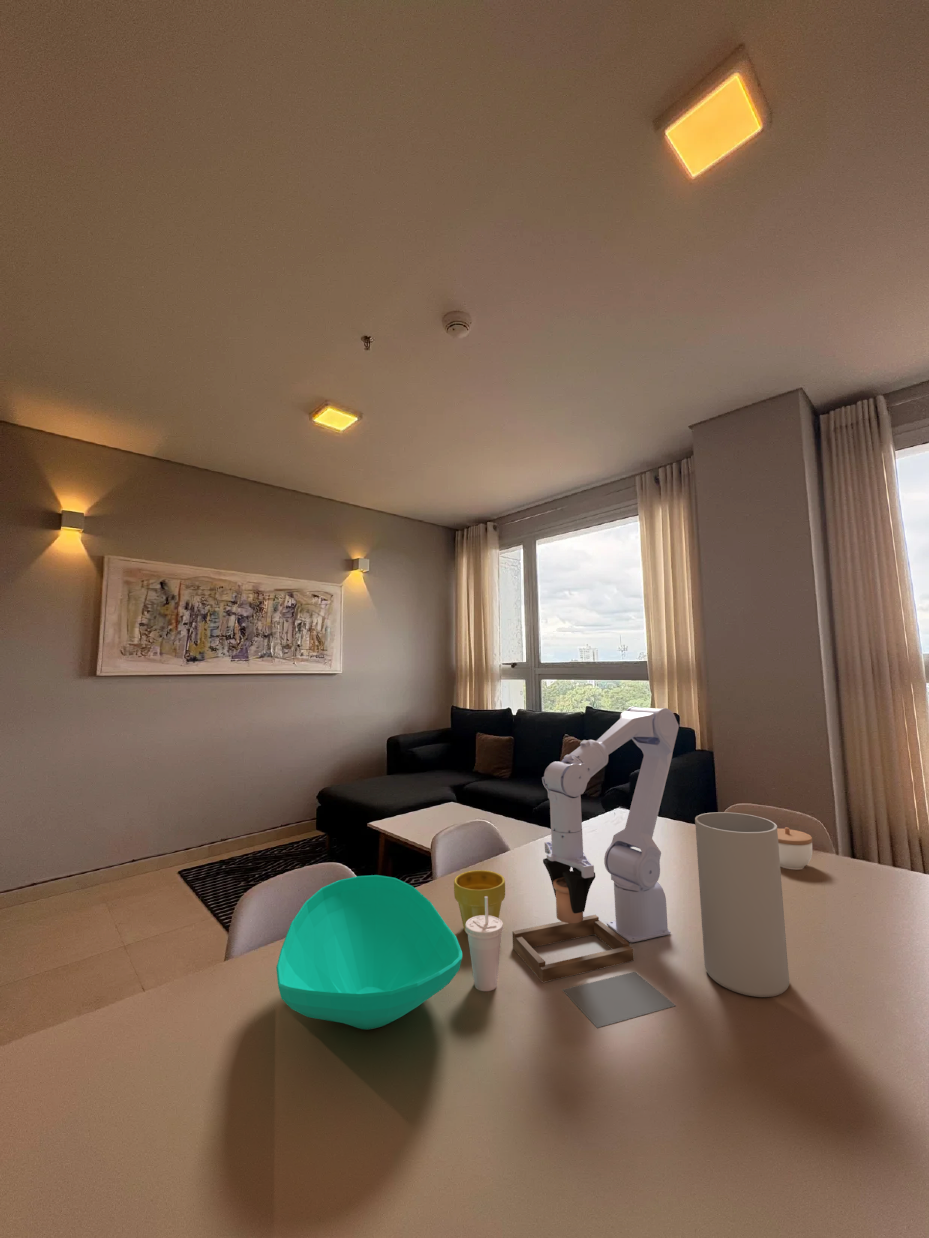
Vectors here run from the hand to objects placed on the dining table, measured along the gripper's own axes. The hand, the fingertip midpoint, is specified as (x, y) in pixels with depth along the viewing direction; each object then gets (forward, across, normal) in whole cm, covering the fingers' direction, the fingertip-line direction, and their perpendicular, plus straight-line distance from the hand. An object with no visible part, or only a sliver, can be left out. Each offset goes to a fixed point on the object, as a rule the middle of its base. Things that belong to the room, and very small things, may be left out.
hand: (569, 905), depth 98 cm
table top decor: (+9, +3, -37) cm, 38 cm away
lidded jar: (+9, -17, +74) cm, 76 cm away
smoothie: (+9, +3, -18) cm, 20 cm away
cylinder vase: (+9, +17, +23) cm, 30 cm away
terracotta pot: (+2, 0, 0) cm, 2 cm away
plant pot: (+9, -15, -12) cm, 21 cm away
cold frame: (+9, 0, 0) cm, 9 cm away
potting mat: (+9, +14, 0) cm, 16 cm away
